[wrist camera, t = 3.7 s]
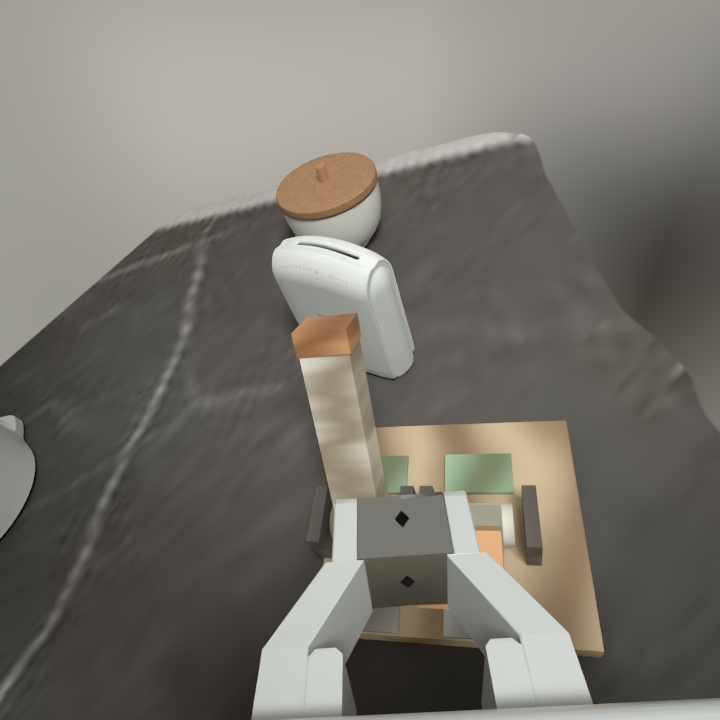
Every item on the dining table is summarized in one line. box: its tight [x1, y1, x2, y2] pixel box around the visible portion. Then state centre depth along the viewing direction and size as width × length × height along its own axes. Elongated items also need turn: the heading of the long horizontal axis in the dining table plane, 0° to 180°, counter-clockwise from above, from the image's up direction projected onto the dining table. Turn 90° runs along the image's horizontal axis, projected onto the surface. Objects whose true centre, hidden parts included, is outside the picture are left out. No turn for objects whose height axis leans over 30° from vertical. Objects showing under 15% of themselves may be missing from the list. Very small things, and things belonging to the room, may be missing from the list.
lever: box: [417, 503, 515, 609], centre depth 24 cm, size 4×3×15 cm, turn 83°
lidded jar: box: [276, 153, 381, 248], centre depth 54 cm, size 11×11×9 cm
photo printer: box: [272, 236, 414, 379], centre depth 41 cm, size 10×4×12 cm, turn 57°
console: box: [291, 313, 604, 658], centre depth 28 cm, size 16×14×16 cm
